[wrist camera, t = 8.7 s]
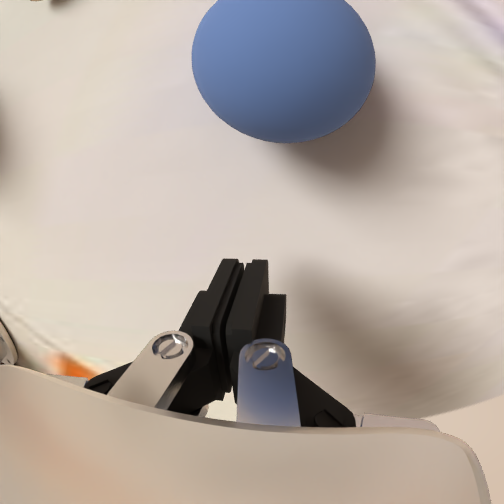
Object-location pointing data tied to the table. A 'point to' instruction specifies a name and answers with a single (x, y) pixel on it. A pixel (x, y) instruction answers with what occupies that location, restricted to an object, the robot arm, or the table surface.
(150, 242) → the table surface
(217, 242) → the table surface
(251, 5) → the ball
